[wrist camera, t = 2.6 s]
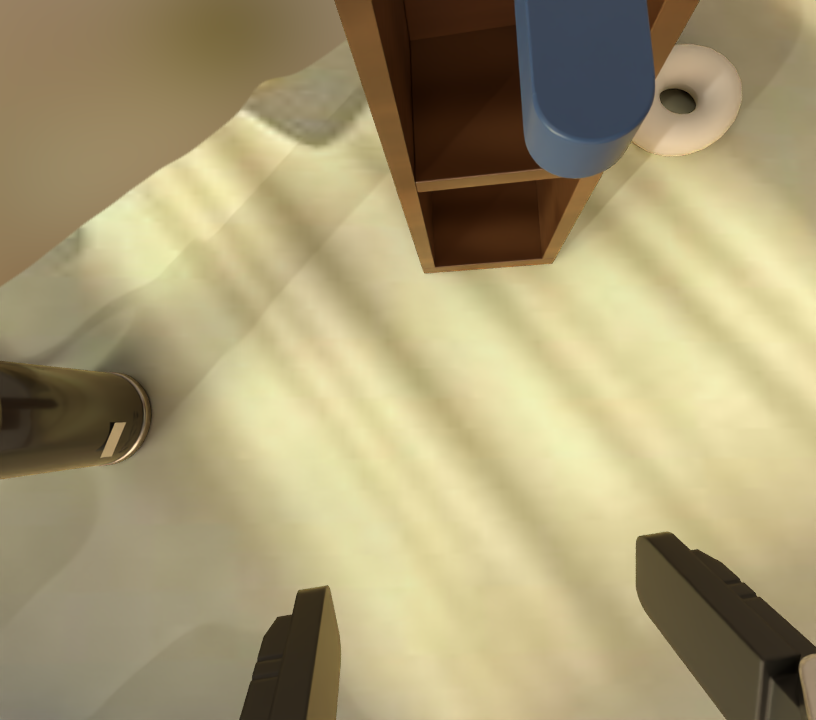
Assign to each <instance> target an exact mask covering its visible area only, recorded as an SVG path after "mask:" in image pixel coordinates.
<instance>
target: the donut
mask: <svg viewBox="0 0 816 720" xmlns="http://www.w3.org/2000/svg"><path fill="white" fill-rule="evenodd" d="M673 88H677V89H681V90H684V91H686V92H688V93H689V94H690V95H691V96H692V97H693V98H694V101H695V103H696V108H695V110H694V111H693V112H691V113H688V114H677V113H673V112H671V111H669V110H667V109H666V108H665V107H664V106H663V105H662V104H661V101H660V93H661V92H662V91H664V90H667V89H673ZM741 102H742V84H741V80H740V78H739V75H738V73H737V71H736V68H735V67H734V66H733V65H732V64H731V63H730V61H729V60H728V59H727V58H726V57H725V56H724V55H722V54H720V53H718V52H717V51H715V50H713V49H711V48H709V47H705V46H700V45H695V44H680V45H674V47H673V49H672V51H671V53H670V54H669V56H668V58H667V60H666V62H665V63H664V65H663V67H662V69H661V70H660V72H659V74H658V76H657V78H656V79H655V97H654V101H653V104H652V106H651V109H650V111H649V113H648V114H647V116H646V118H645V119H644V121H643V123H642V124H641V126H640V128H639V129H638V131H637V133H636V134H635V136H634V138H633V139H632V141H633V143H634V144H636V145H637V146H639V147H641V148H642V149H644V150H646V151H647V152H650V153H654V154H658V155H662V156H683V155H687V154H690V153H694V152H697V151H700V150H703V149H705V148H706V147H708V146H709V145H711V144H712V143H714V142H715V141H717V140H718V139H719V138H721V137H722V136H723V135H724V134H725V132H726V131H727V130H728V129H729V127H730V126H731V125H732V123H733V122H734V121H735V119H736V117H737V114H738V111H739V108H740V105H741Z"/></svg>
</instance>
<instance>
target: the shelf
mask: <svg viewBox="0 0 816 720" xmlns="http://www.w3.org/2000/svg"><path fill="white" fill-rule="evenodd" d="M334 1H335V4H336V7H337V10H338V13H339V16H340V19H341V22H342V25H343V28H344V31H345V34H346V37H347V41H348V44H349V47H350V50H351V53H352V56H353V59H354V62H355V65H356V68H357V71H358V74H359V77H360V80H361V83H362V86H363V89H364V92H365V95H366V98H367V101H368V104H369V107H370V111H371V114H372V117H373V120H374V123H375V126H376V129H377V132H378V135H379V138H380V141H381V144H382V147H383V150H384V153H385V156H386V159H387V162H388V165H389V168H390V171H391V174H392V178H393V181H394V184H395V187H396V190H397V193H398V196H399V199H400V202H401V205H402V208H403V211H404V214H405V217H406V220H407V223H408V226H409V229H410V232H411V235H412V238H413V241H414V244H415V248H416V251H417V254H418V257H419V260H420V263H421V266H422V268H423V271H424V273H436V272H449V271H462V270H475V269H487V268H500V267H513V266H526V265H539V264H552V263H553V261H554V260H555V258H556V256H557V254H558V253H559V251H560V249H561V247H562V245H563V244H564V242H565V240H566V238H567V236H568V235H569V233H570V231H571V229H572V228H573V226H574V224H575V222H576V220H577V219H578V217H579V215H580V213H581V211H582V210H583V208H584V206H585V204H586V203H587V201H588V199H589V197H590V195H591V194H592V192H593V190H594V188H595V186H596V185H597V183H598V181H599V179H600V178H601V176H602V174H603V172H604V171H603V172H601V173H599V174H596V175H593V176H590V177H586V178H576V179H573V178H564V177H560V176H556V175H554V174H551V173H549V172H547V171H546V170H544V169H543V168H542V167H540V166H539V165H538V164H537V163H536V162H535V160H534V159H533V158H532V156H531V155H530V153H529V151H528V149H527V146H526V143H525V138H524V129H523V115H522V101H521V87H520V74H519V60H518V46H517V32H516V18H515V4H514V0H334ZM699 1H700V0H647V7H648V16H649V25H650V33H651V42H652V51H653V59H654V68H655V79H656V78H657V76H658V74H659V72H660V70H661V69H662V67H663V65H664V63H665V62H666V60H667V58H668V56H669V54H670V53H671V51H672V49H673V47H674V45H675V44H676V42H677V40H678V38H679V37H680V35H681V33H682V31H683V29H684V28H685V26H686V24H687V22H688V21H689V19H690V17H691V15H692V13H693V12H694V10H695V8H696V6H697V4H698V3H699Z"/></svg>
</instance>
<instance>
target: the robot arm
mask: <svg viewBox="0 0 816 720" xmlns="http://www.w3.org/2000/svg"><path fill="white" fill-rule="evenodd" d="M150 421H151V408H150V403H149V399H148V397H147V394H146V392H145V391H144V389H143V388H142V386H141V385H140V384H139V383H138V382H137V381H136V380H135V379H133V378H132V377H130V376H128V375H125V374H122V373H116V372H97V371H88V370H80V369H71V368H62V367H52V366H43V365H34V364H25V363H15V362H6V361H0V479H7V478H14V477H21V476H28V475H35V474H42V473H49V472H56V471H63V470H69V469H77V468H84V467H91V466H105V465H112V464H116V463H119V462H122V461H124V460H126V459H127V458H129V457H130V456H132V455H133V454H134V453H135V452H136V451H137V450H138V449H139V448H140V446H141V445H142V443H143V442H144V440H145V438H146V436H147V433H148V430H149V427H150ZM636 590H637V594H638V597H639V600H640V602H641V605H642V607H643V609H644V610H645V612H646V613H647V615H648V616H649V617H650V619H651V620H652V621H653V623H654V624H655V625H656V627H657V628H658V629H659V631H660V632H661V633H662V635H663V636H664V637H665V639H666V640H667V641H668V643H669V644H670V645H671V647H672V648H673V649H674V651H675V652H676V653H677V655H678V656H679V657H680V659H681V660H682V661H683V663H684V664H685V665H686V667H687V668H688V669H689V671H690V672H691V673H692V675H693V676H694V677H695V678H696V680H697V681H698V682H699V684H700V685H701V686H702V688H703V689H704V690H705V692H706V693H707V694H708V696H709V697H710V698H711V700H712V701H713V702H714V704H715V705H716V706H717V708H718V709H719V710H720V712H721V713H722V714H723V716H724V717H725V718H726V720H816V647H815V646H814V645H813V644H812V643H811V642H810V641H809V640H808V639H806V638H805V637H804V636H803V635H802V634H801V633H800V632H799V631H798V630H796V629H795V628H794V627H793V626H792V625H791V624H790V623H789V622H787V621H786V620H785V619H784V618H783V617H782V616H781V615H780V614H778V613H777V612H776V611H775V610H774V609H773V608H772V607H771V606H770V605H768V604H767V603H766V602H765V601H764V600H763V599H762V598H761V597H757V596H756V593H755V592H754V591H753V590H752V589H751V588H749V587H748V586H747V585H746V584H745V583H744V582H743V583H742V582H741V581H740V579H739V578H738V577H737V576H736V575H735V574H734V573H733V572H732V571H730V570H729V569H728V568H727V567H726V566H725V565H724V564H723V563H721V562H720V561H718V560H716V559H714V558H712V557H711V556H709V555H707V554H705V553H703V552H701V551H699V550H698V549H696V550H690V549H689V548H688V547H687V546H685V545H684V544H683V543H682V542H681V541H680V540H679V539H678V538H677V537H676V536H675V535H674V534H672V533H671V532H662V533H655V534H649V535H643V536H639V537H638V538H637V540H636ZM257 659H258V661H257V663H256V665H255V668H254V672H253V675H252V681H251V682H250V685H249V689H248V692H247V695H246V699H245V702H244V706H243V709H242V713H241V716H240V719H239V720H336V713H337V701H338V690H339V678H340V666H341V644H340V635H339V630H338V625H337V620H336V615H335V610H334V605H333V601H332V596H331V591H330V588H329V586H328V585H327V586H321V587H315V588H309V589H303V590H299V591H298V593H297V596H296V600H295V604H294V609H293V613H292V615H287V616H280V617H277V618H276V620H275V621H274V623H273V624H272V626H271V627H270V628H269V630H268V631H267V633H266V634H265V636H264V637H263V641H262V644H261V648H260V651H259V654H258V658H257Z"/></svg>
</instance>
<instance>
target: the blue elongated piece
mask: <svg viewBox="0 0 816 720" xmlns="http://www.w3.org/2000/svg"><path fill="white" fill-rule="evenodd" d="M514 4H515V18H516V32H517V46H518V60H519V74H520V87H521V101H522V115H523V129H524V138H525V143H526V146H527V149H528V151H529V153H530V155H531V156H532V158H533V159H534V160H535V162H536V163H537V164H538V165H539V166H540V167H542V168H543V169H544V170H546V171H547V172H549V173H551V174H554V175H556V176H560V177H564V178H573V179H576V178H586V177H590V176H593V175H596V174H599V173H601V172H603V171H605V170H607V169H608V168H610V167H611V166H612V165H614V164H615V163H616V162H617V161H618V160H619V159H620V158H621V157H622V155H623V154H624V153H625V151H626V149H627V148H628V146H629V144H630V143H631V141H632V139H633V138H634V136H635V134H636V133H637V131H638V129H639V128H640V126H641V124H642V123H643V121H644V119H645V118H646V116H647V114H648V113H649V111H650V109H651V106H652V104H653V101H654V97H655V68H654V59H653V51H652V42H651V33H650V25H649V16H648V7H647V0H514Z"/></svg>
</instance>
